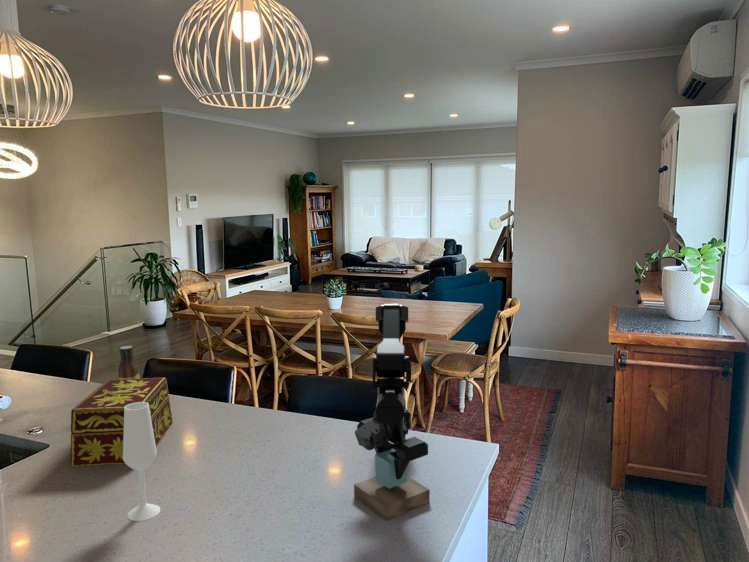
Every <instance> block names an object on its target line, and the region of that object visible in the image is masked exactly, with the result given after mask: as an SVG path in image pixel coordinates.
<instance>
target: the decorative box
mask: <svg viewBox="0 0 749 562" xmlns="http://www.w3.org/2000/svg"><path fill="white" fill-rule="evenodd" d="M139 378H140V377H139ZM169 394H170V393H169V387H168V380H167V377H146V378H145V377H144V378H140V379H119V378H115V379H107V380H105V382H104V383H102V384H100V386H98V387H97V388H96V389H95V390H93V391H92V392H91V393H90V394H89V395H88V396H86V397H85V398H84V399H82V401H80V402H79V403H78V404H77V405H75V406H74V407H73V408H72V409H71V412H70V413H71V416H70V425H71V426H70V433H71V434H70V467H71V468H78V467H82V468H83V467H97V466H98V467H101V466H118V465H119V466H120V465H122V466H123V465H126V463H125V462H124V461H123V436H124V407H125V406H126V405H128V404H131V403H136V402H146V403H148V404H149V409H150V415H151V421H152V427H153V433H154V438H155V444H156V448H157V447H158V445H159V444H160V443H161V441H162V439H163V438H164V436H165V435H166V434H167V432H168V431H169V429H170V428H171V427H172V425H173V422H174V421H173V415H172V414H173V413H172V409H171V401H170V397H169V396H170V395H169Z"/></svg>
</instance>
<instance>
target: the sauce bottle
mask: <svg viewBox="0 0 749 562" xmlns="http://www.w3.org/2000/svg"><path fill="white" fill-rule="evenodd" d="M118 352H119V353H120V364H119V366H118V379H140V372H139V367H138V363H137V362H136V361H135V359H134V353H133V352H134V348H133V346H132V345H123V346H121V347H119V351H118Z"/></svg>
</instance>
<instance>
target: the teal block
mask: <svg viewBox="0 0 749 562" xmlns="http://www.w3.org/2000/svg"><path fill="white" fill-rule="evenodd" d="M392 452H395V449H390V450H387V451H384V452H381V453H378V454H376V453H375V454H374V455H375V456H374V460H375V461H374V462H375V463H374V465H375V466H374V467H375V469H374V470H375V471H374V472H375V476H374V477H375V480H376V481H378V482H380V483H381V484H383V485H384V486H386V487H387V488H389V489H390V488H392V487H395V486H398V485H400V484H403V483H405V482H407V476H408V470H407V469H408V466H407V467H406V470H405V472H404V474H403V476H402V478H401V479H396V473H395V461H394V458H393V457H392V456H391V455H390V454H389V453H392Z"/></svg>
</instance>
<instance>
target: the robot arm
mask: <svg viewBox="0 0 749 562" xmlns="http://www.w3.org/2000/svg"><path fill="white" fill-rule="evenodd" d="M375 323H377V324H378V331H379V333H380V335H381V336H382V339H381V341H382V342H381V343H379V344H378V345H377V346H376V354H375V355H373V356H372V387H371V388H377V399H376V405H375V410H374V411H373V412H374V413H372V417H370V418H366V419H363V420H360V421H358V424H357V425H356V429H355V431H354V435H355V437H356V441H357V443H358V446H361V447H363V448H364V449H365V450H367V451H372V450H374V451H375V454H378V453H381V452H384V451H387V450H390V449H395V452H392V453H389V454H390V455H391V456H392V457H393V458H394V461H395V473H396V479H401V478H402V476H403V474H404V472H405V470H406V467H407V468H408V465H409V464H410V462H412V461H414V460H417V459H420V458H423V457H425V456H428V455H429V444H428V443H427V442H426V441H425V440H422V439H421V438H418V437H416V436H412V437H409V438H406V435H409V430H411V429H412V427H411V426H412V413H410V410H409V408H407V407H406V406H407V405H406V403H407V402H406V398H405V388H408V389H409V383H411V382H412V361H411V360H410V357H409V356H408V355H406V346H405V345H403V344H402V342H400V341H401V338H402V337H403V335H404V333H405V332H406V328H407V327H406V323H407V324H408V323H409V306H404V304H400V303H383V304H381V305H379V306H375ZM376 377H377V379H376ZM404 378H405V379H404Z"/></svg>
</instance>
